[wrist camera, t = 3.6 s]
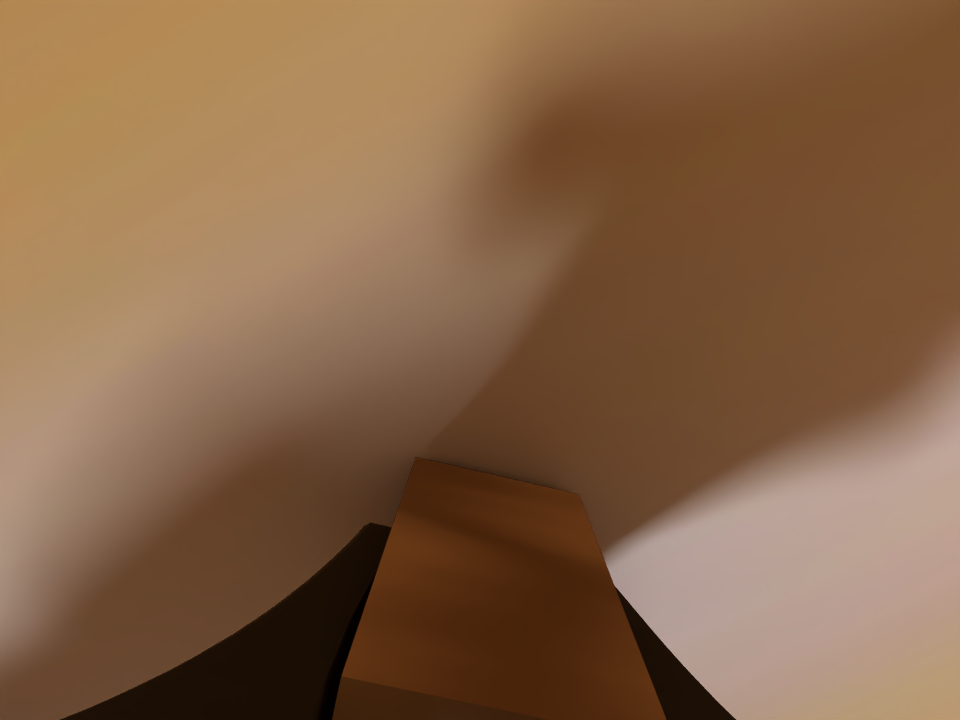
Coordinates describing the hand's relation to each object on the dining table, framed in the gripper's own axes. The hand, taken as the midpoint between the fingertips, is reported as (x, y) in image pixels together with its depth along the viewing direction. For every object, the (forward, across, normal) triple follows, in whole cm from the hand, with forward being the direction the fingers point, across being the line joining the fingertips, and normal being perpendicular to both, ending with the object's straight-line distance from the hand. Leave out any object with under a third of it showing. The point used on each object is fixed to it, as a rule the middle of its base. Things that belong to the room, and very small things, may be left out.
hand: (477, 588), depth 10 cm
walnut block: (+1, 0, 0) cm, 1 cm away
